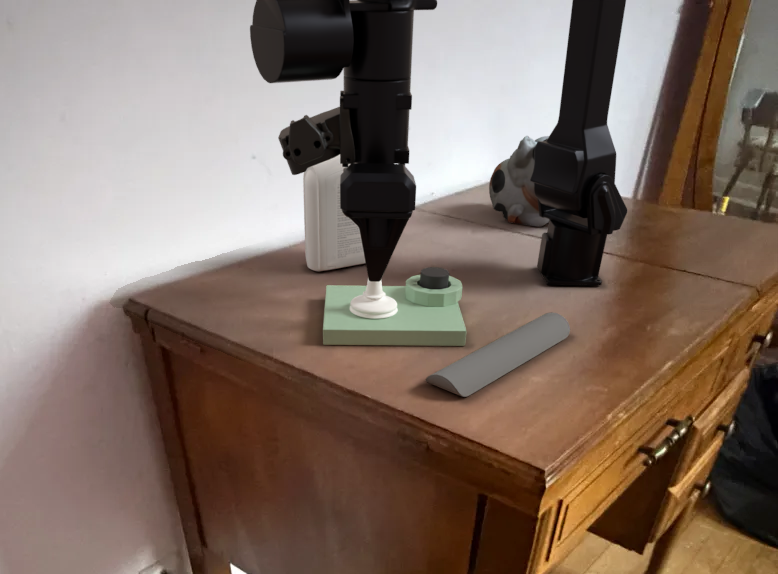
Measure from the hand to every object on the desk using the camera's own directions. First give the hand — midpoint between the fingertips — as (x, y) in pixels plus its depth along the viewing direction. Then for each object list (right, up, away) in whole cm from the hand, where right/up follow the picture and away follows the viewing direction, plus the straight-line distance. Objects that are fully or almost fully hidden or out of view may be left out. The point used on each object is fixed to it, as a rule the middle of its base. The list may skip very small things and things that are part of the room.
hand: (373, 264), depth 71 cm
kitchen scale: (+2, -4, +5) cm, 7 cm away
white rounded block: (-3, +7, +19) cm, 20 cm away
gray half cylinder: (+12, -10, -2) cm, 16 cm away
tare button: (+6, 0, +6) cm, 8 cm away
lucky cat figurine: (+25, +20, +36) cm, 48 cm away
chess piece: (0, -4, +3) cm, 5 cm away
